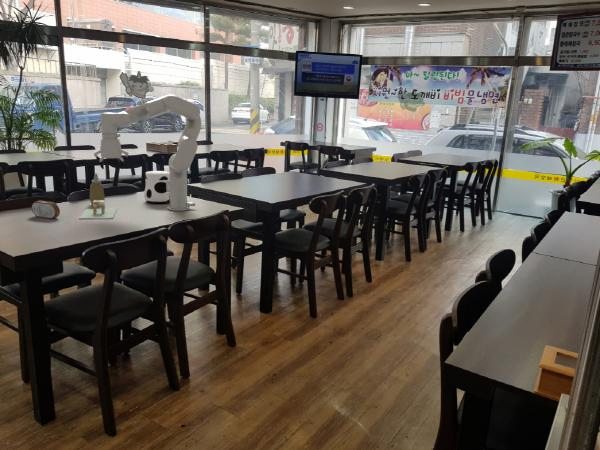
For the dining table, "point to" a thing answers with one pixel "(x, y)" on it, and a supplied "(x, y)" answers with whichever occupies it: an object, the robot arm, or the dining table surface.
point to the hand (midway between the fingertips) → (112, 168)
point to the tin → (45, 209)
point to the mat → (98, 214)
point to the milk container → (157, 186)
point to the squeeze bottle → (96, 190)
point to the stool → (98, 203)
